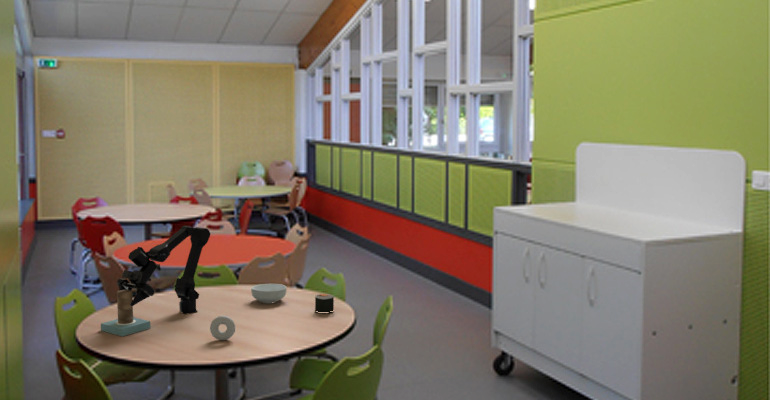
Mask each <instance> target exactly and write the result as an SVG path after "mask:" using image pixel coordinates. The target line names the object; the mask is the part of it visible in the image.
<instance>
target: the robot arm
mask: <svg viewBox="0 0 770 400" xmlns="http://www.w3.org/2000/svg"><path fill="white" fill-rule="evenodd" d="M189 237H190V238H189ZM210 237H211V232H210V229H209V228H206V227H200V226H199V227H198V226H195V227H192V226H190V225H183V226H181V227H180V229H179V230H177V231H176V232H175V233H174V234H173V235H171V236H170V237H169V238H168V239H167V240H166V241H164V242H163V243H160V244H157V245H155V246H153V247H151V248H150V249H149V250H148V251H145V250H144V248H143V247H141V246H138V247H137V248H135V249H133V250H132V251H130V252H129V253H128V259H129V260H130V261H131V263H133V264H134V265H135V266H136V267H137V268H139V269H138V270H136V269H134V270H133V271H131V270H127V269H123V272H122V274H121V278H118V279H117V281H116V285H117V286H118V291H120V290H132V291H133V289H134V290H136V294H135V295H134V297H133V298H132V299H133V301H132V302H131V304H130V305H131V306H133V307H134V306H135V305H137V304H138V303H141V302H143V301H144V300H145V299H148V298H150V297H153V296H154V295H155V293H156V291H155V289H154V287H152V286H151V285H150V284H149V283H148V282H151V281H152V279H151V277H152V276H153V274H154V273H155V271H158V272H160V271H162V269H161V264H160V263H164V262H165V261H166V260H167V259H168V258H169V257H170V255H171V252H172V251H173V250H174V249H175V248H176V247H178V246H179V245H180V244H181V243H182V242H184V241H185V240H186V239H187V238H189V239H190V244H191V246H190V250H189V253H188V256H187V260H186V263H185V267H184V271H183V274H182V275H181V276H180V278H176V280H175V284H174V286H173V287H174V292H175V294H176V295H177V299H180V301H179V302H178V303H179V312H180V313H182V314H183V315H186V314H192V313H198V312H199V311H198V310H197V300H198V299H199V296H200V293H198V291H197V290H196V289H195V287H196V283H195V276H196V275H195V274H196V271H197V268H198V264H199V262H200V257H201V254H202V251H203V248H204V247H205V245H207V243H208V242H209V239H210ZM156 262H158V263H156ZM115 302H116V303H117V299H116V300H115Z"/></svg>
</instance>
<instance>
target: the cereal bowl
mask: <svg viewBox="0 0 770 400" xmlns="http://www.w3.org/2000/svg"><path fill="white" fill-rule="evenodd" d="M250 289H251V291H250V292H251V295H252V297H253V298H254V299H255V300H256V301H259V302H260V303H262V302H263V304H273V303H272V302H275V303H277V302H278V301H280V300H282V299H283V298H285V296H286V294H287V286H286V285H284V284H281V283H262V284H261V283H260V284H256V285H253V286H251V288H250ZM276 301H277V302H276Z"/></svg>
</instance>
